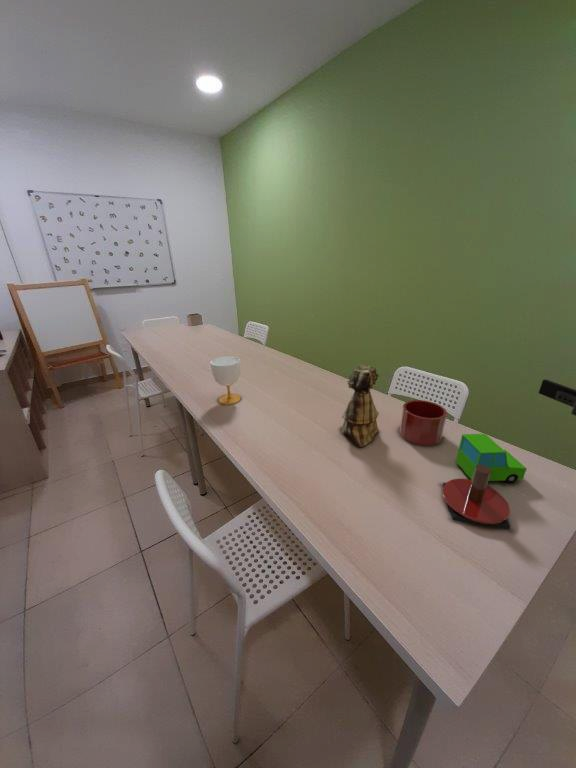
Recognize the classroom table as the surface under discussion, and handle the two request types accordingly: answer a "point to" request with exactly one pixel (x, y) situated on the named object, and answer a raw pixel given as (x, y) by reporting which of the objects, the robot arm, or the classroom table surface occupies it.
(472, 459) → the toy car
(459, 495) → the lid
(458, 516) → the plate
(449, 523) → the classroom table surface
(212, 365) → the cup
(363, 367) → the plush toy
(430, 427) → the pot
